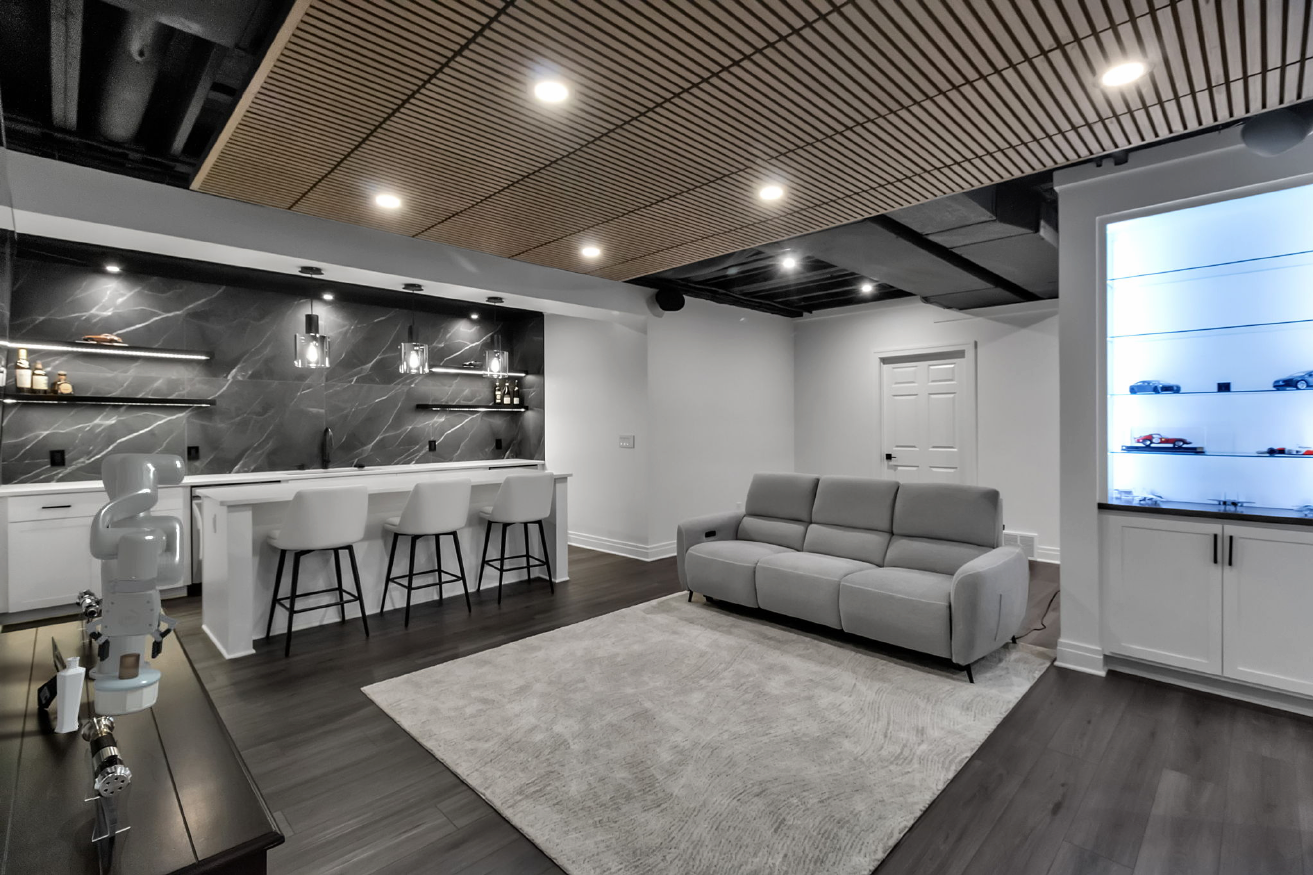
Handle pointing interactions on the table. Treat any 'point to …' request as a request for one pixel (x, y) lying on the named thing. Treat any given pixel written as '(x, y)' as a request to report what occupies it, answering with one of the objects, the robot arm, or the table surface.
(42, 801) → the table surface
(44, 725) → the table surface
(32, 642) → the table surface
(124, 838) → the table surface
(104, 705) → the bowl
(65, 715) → the perfume bottle
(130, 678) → the lid
